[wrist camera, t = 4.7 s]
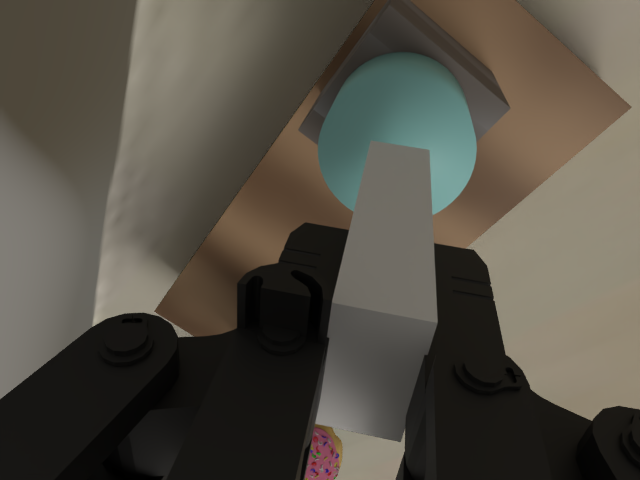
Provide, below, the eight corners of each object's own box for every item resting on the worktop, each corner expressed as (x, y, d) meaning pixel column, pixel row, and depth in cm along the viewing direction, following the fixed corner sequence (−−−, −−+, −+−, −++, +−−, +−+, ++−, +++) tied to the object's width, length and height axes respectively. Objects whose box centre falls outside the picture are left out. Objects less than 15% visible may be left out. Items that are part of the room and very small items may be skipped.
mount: (302, 354, 37) (273, 461, 29) (179, 275, 35) (113, 369, 27) (601, 82, 23) (687, 153, 16) (429, -77, 21) (433, -81, 14)
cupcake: (327, 359, 37) (293, 518, 27) (364, 430, 41) (345, 592, 31) (231, 374, 40) (168, 523, 30) (274, 439, 43) (231, 590, 34)
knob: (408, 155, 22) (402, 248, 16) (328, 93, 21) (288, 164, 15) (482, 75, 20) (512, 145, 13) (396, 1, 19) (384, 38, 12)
